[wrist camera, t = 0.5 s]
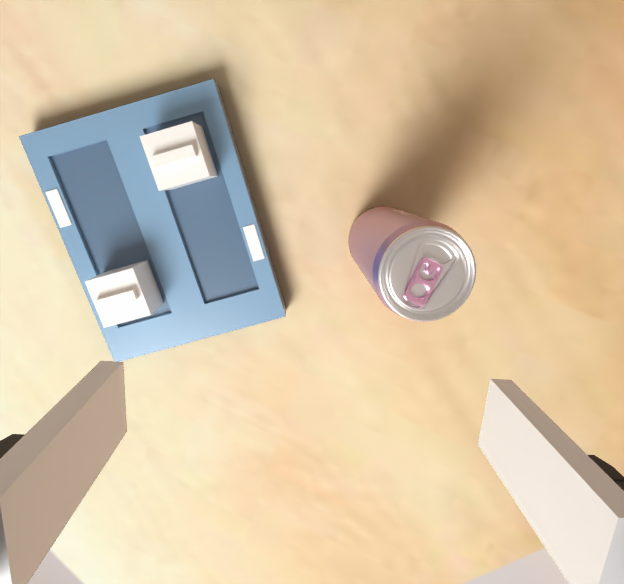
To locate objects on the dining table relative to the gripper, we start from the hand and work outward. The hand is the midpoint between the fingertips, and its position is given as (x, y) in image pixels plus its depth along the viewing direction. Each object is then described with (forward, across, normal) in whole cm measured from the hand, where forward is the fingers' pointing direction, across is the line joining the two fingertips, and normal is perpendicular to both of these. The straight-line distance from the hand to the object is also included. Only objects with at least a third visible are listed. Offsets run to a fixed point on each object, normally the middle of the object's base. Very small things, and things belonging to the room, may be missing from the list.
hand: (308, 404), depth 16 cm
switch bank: (+25, -12, +2) cm, 28 cm away
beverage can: (+25, +7, +2) cm, 26 cm away
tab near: (+24, -10, +8) cm, 27 cm away
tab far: (+23, -14, -3) cm, 28 cm away
